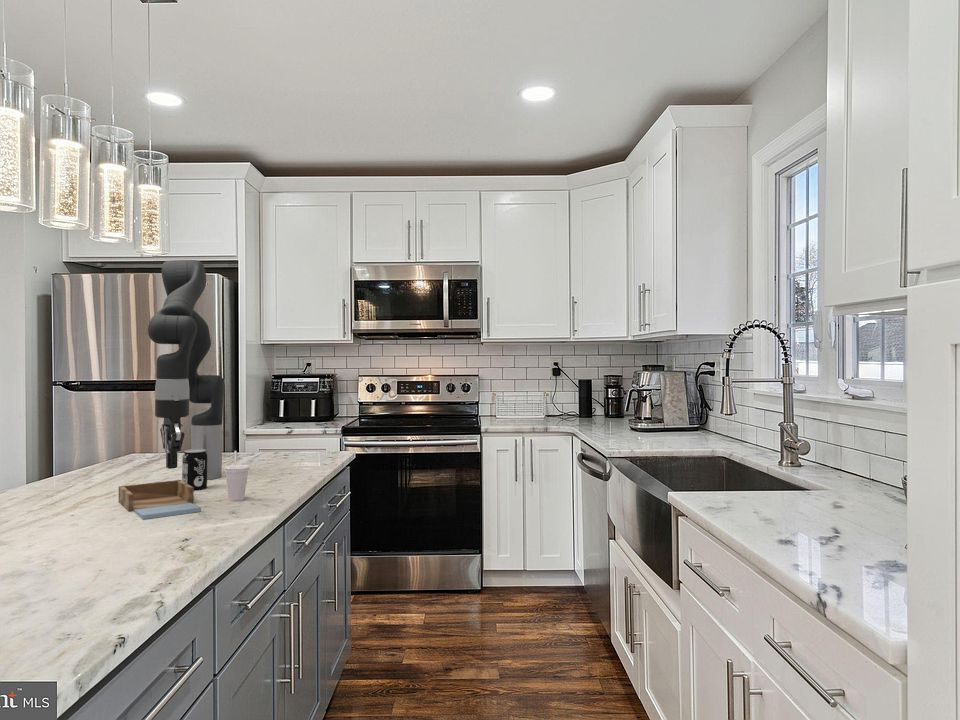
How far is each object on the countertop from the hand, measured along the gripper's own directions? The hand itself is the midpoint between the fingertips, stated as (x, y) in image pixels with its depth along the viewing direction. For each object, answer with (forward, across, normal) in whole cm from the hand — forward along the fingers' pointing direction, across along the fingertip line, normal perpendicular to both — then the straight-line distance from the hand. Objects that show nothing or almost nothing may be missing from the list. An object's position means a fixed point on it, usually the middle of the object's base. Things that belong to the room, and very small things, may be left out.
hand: (171, 468), depth 152 cm
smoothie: (+12, -6, +18) cm, 22 cm away
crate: (+12, -14, 0) cm, 18 cm away
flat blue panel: (+11, -6, 0) cm, 13 cm away
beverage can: (+13, -27, +13) cm, 32 cm away
